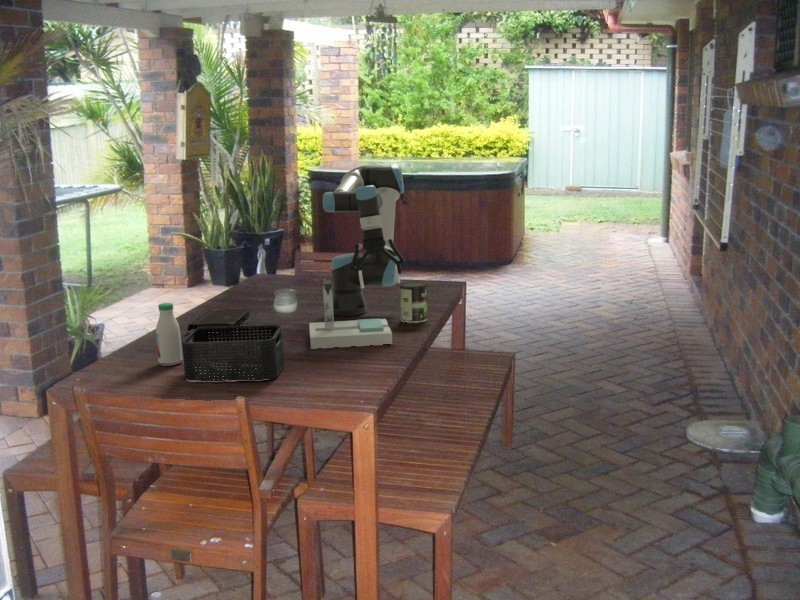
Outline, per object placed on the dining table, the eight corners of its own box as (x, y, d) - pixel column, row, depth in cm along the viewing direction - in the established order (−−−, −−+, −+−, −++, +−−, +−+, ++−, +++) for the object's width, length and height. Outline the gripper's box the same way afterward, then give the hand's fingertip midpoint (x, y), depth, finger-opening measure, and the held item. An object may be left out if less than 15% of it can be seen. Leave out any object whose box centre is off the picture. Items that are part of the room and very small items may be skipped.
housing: (309, 333, 333) (309, 322, 332) (385, 329, 336) (385, 318, 335) (310, 349, 312) (310, 337, 311) (392, 344, 315) (392, 333, 314)
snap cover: (357, 322, 330) (357, 319, 330) (379, 321, 331) (379, 318, 331) (360, 332, 317) (360, 328, 317) (383, 330, 318) (383, 327, 317)
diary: (187, 336, 337) (186, 323, 336) (209, 320, 362) (208, 308, 361) (236, 336, 335) (235, 322, 334) (254, 320, 359) (253, 307, 358)
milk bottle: (187, 361, 302) (182, 302, 297) (174, 367, 294) (169, 307, 290) (167, 359, 304) (162, 301, 300) (153, 366, 297) (148, 306, 293)
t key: (325, 334, 326) (322, 280, 322) (334, 333, 327) (331, 279, 323) (325, 339, 320) (323, 283, 315) (334, 338, 320) (332, 283, 316)
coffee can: (429, 317, 353) (428, 281, 350) (424, 323, 343) (424, 286, 340) (403, 316, 355) (402, 281, 352) (398, 323, 345) (397, 286, 342)
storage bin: (182, 384, 277) (178, 341, 274) (198, 366, 296) (195, 326, 293) (275, 382, 276) (273, 339, 273) (286, 364, 295) (283, 324, 292)
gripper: (336, 233, 331) (345, 291, 333) (404, 223, 327) (412, 281, 330) (340, 232, 338) (349, 289, 340) (406, 222, 335) (415, 279, 337)
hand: (380, 285), depth 335 cm, fingers open, 13 cm apart
